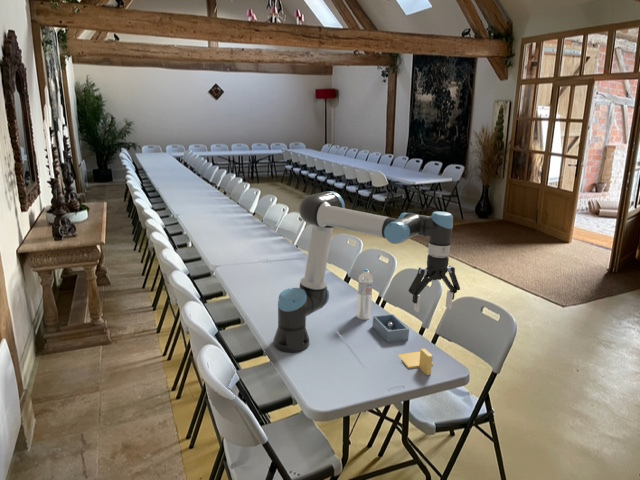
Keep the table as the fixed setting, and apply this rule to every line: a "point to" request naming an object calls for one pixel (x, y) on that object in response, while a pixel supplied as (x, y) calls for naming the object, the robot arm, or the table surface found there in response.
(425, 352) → the lid
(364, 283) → the water bottle
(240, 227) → the table surface
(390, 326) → the part
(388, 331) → the tub
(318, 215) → the robot arm
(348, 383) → the table surface
